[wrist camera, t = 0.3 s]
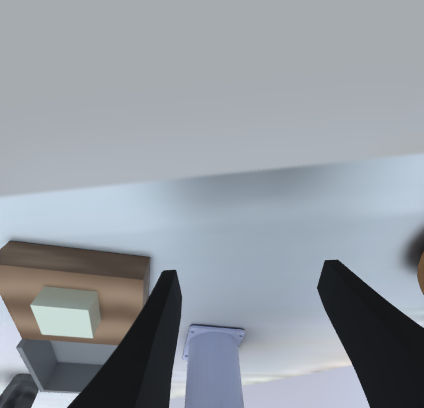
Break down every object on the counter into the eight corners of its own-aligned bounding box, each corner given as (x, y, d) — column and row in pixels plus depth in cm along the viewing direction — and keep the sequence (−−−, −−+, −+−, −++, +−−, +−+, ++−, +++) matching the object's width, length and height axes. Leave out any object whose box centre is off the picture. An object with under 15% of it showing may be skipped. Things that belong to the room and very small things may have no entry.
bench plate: (146, 323, 31) (140, 347, 28) (38, 314, 29) (22, 338, 26) (150, 257, 24) (143, 280, 21) (10, 240, 22) (-16, 263, 20)
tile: (101, 319, 25) (93, 338, 23) (53, 315, 24) (41, 334, 22) (97, 291, 22) (88, 310, 20) (44, 286, 22) (30, 305, 20)
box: (143, 366, 37) (137, 396, 34) (56, 360, 36) (40, 391, 32) (146, 323, 31) (138, 355, 27) (38, 314, 29) (16, 347, 26)
